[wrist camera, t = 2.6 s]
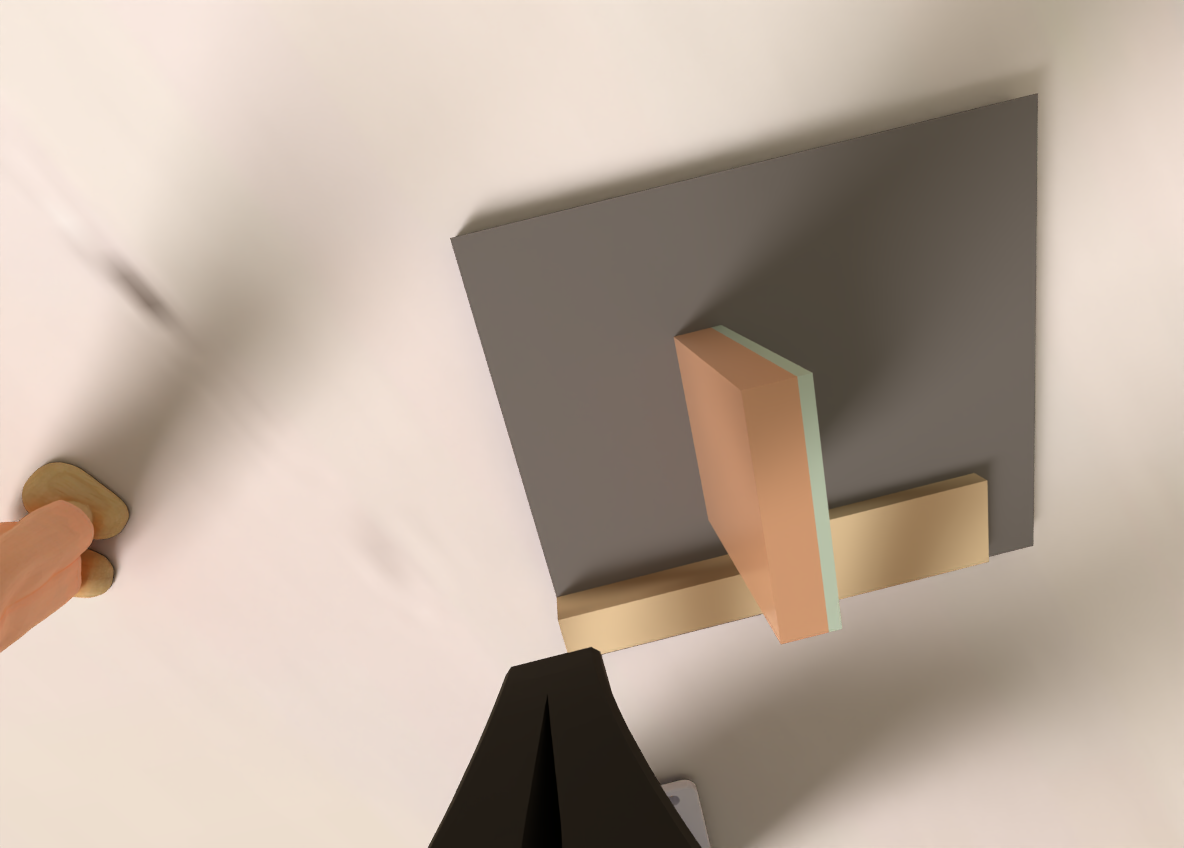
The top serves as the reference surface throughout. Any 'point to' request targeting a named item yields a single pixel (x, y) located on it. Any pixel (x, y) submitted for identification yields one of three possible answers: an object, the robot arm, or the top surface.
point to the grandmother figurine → (55, 547)
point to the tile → (763, 475)
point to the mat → (772, 332)
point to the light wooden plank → (861, 555)
